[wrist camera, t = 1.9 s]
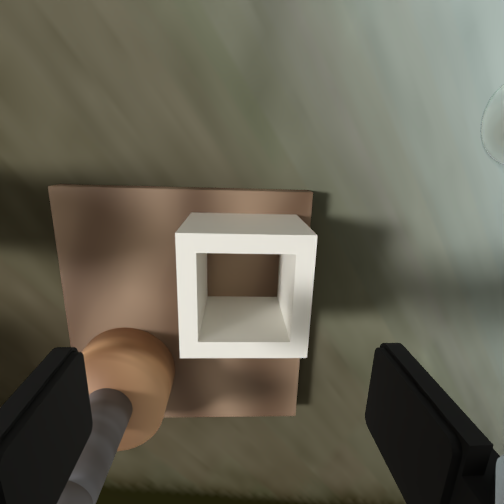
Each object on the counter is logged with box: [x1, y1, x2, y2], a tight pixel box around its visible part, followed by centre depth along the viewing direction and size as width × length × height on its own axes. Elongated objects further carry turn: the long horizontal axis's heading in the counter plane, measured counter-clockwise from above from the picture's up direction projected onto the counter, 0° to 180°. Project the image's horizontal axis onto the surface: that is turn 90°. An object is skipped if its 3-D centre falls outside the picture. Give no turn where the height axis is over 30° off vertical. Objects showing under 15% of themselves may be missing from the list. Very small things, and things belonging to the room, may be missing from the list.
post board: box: [48, 184, 313, 504], centre depth 19 cm, size 17×18×13 cm
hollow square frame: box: [175, 213, 318, 358], centre depth 20 cm, size 7×7×6 cm
